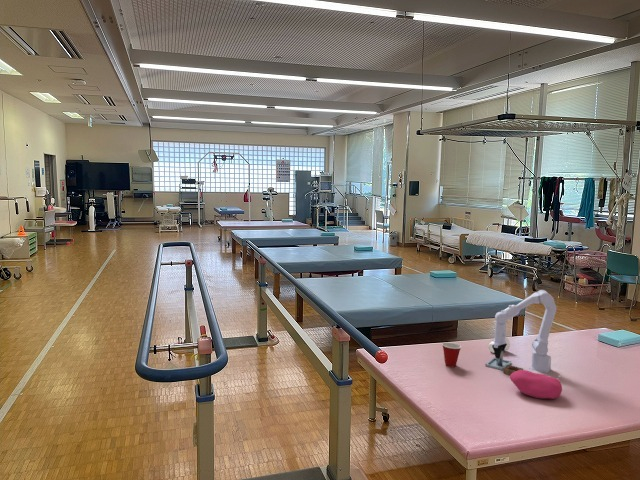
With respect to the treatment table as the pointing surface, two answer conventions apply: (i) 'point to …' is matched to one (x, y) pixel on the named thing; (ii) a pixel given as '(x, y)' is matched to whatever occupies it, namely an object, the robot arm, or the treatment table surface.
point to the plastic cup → (451, 353)
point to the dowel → (500, 360)
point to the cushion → (536, 384)
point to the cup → (493, 344)
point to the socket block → (511, 369)
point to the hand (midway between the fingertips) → (498, 356)
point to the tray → (493, 365)
